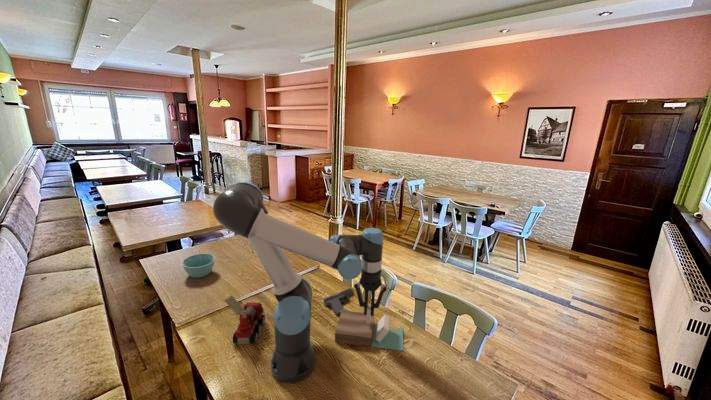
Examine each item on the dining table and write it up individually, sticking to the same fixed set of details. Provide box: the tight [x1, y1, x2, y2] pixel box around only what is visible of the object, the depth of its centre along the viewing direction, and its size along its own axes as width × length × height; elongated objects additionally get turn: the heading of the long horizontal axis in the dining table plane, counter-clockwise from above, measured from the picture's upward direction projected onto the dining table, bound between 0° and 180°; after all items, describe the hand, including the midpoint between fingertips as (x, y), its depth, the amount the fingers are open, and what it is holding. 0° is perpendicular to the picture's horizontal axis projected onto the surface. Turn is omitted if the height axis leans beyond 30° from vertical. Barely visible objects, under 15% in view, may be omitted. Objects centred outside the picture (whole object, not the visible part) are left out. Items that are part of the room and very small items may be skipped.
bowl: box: [181, 252, 216, 279], centre depth 153 cm, size 16×16×8 cm
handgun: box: [322, 287, 355, 317], centre depth 135 cm, size 3×18×12 cm
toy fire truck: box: [224, 294, 266, 345], centre depth 111 cm, size 11×16×18 cm
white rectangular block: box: [375, 314, 390, 342], centre depth 114 cm, size 9×6×2 cm
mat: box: [371, 324, 405, 352], centre depth 114 cm, size 12×12×1 cm
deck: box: [334, 310, 375, 348], centre depth 116 cm, size 14×14×4 cm
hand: (368, 321), depth 115 cm, fingers closed
